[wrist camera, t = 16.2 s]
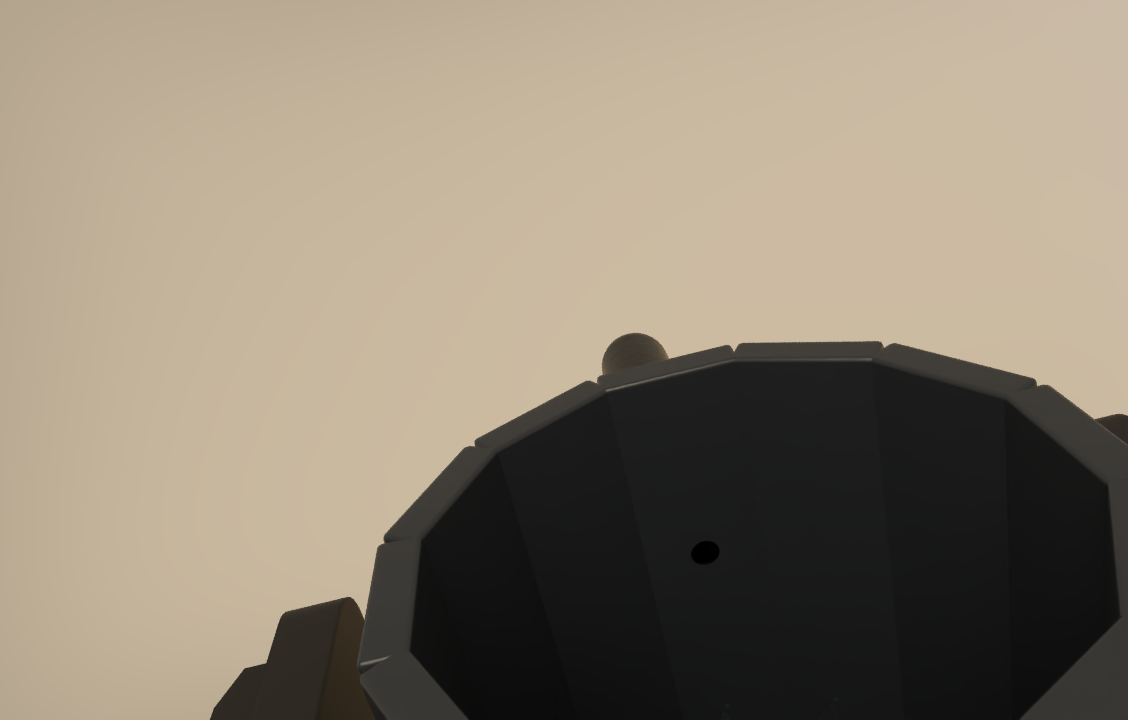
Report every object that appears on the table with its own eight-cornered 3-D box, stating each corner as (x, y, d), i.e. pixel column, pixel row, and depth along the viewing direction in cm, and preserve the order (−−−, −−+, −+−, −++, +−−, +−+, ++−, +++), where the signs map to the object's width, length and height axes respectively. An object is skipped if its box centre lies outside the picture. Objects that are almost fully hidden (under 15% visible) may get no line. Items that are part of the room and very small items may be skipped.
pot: (1294, 1415, 8) (1488, 710, 5) (627, 1561, 8) (295, 988, 5) (832, 586, 19) (780, 181, 16) (545, 655, 19) (425, 269, 16)
